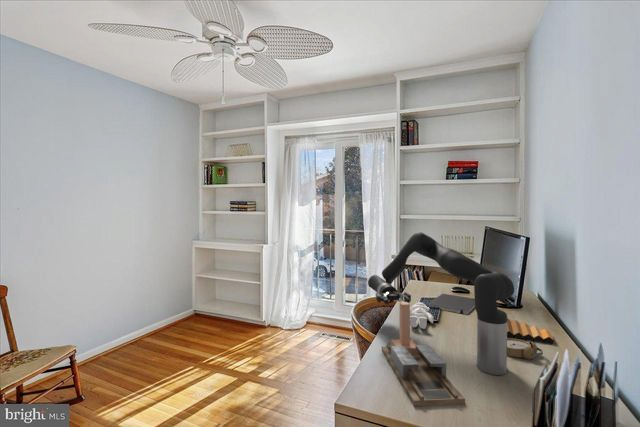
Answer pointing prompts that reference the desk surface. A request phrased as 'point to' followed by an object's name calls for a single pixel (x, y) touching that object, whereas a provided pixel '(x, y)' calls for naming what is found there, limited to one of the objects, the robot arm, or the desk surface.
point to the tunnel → (406, 360)
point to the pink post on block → (405, 330)
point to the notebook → (454, 303)
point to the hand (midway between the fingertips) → (398, 301)
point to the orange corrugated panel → (527, 332)
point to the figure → (420, 315)
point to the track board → (426, 384)
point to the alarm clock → (522, 349)
